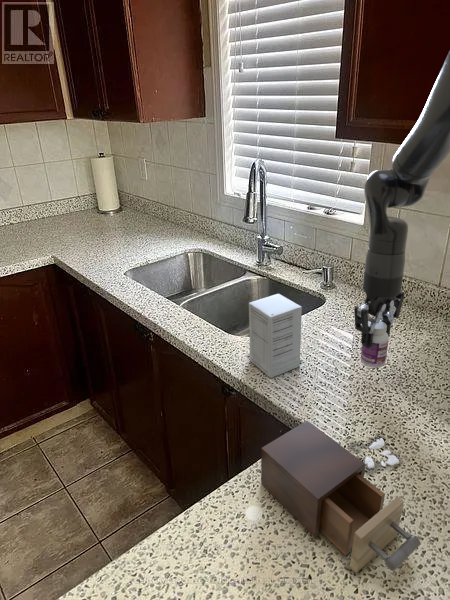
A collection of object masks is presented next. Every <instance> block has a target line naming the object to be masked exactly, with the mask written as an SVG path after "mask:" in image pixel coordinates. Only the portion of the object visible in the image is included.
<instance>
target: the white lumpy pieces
mask: <svg viewBox="0 0 450 600" xmlns="http://www.w3.org/2000/svg"><path fill="white" fill-rule="evenodd" d="M384 446H385V440H384V439H383V438H382V437H379V438H377V439H376V441H373V442H372V444H371V445H369V446H368V449H371V450H380V449H382V448H383V447H384ZM379 455H382V456H385V457H387V460H385V461H384V460H382V461H381V462H380V465H381V466H382V467H384V468H385V467H387V465H388V466H391V467H394V466H397V465H399V464H400V459H399V458H398V457H397V456H396V455H393V454H392V452H391V451H390V450H383V451H382V452H381V453H379ZM364 463H365V464H366V465H367V468H368V469H372V468H374V467H375V462H374V460H373V459H372V458H371V457H369V456H365V459H364Z"/></svg>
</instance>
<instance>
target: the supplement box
mask: <svg viewBox="0 0 450 600" xmlns="http://www.w3.org/2000/svg"><path fill="white" fill-rule="evenodd" d="M302 311H303V307H302V306H301V305H300V304H297V302H294V301H292V300H290V299H289V298H287V297H286V296H284V295H282V294H280V293H275V294H272V295H269V296H266V297H263V298H259V299H257V300H254V301H250V302H248V323H249V324H248V325H249V326H248V327H249V362H251V363H252V364H253V365H254V366H256V367H257V368H258V369H259V370H260V371H261V372H263V373H264V374H265V375H266V376H268V377H269V378H270V379H273V378H275V377H277V376H279V375H283V374H285V373H288V372H289V371H291V370H294V369H298V368H300V366H301V343H302V315H303V314H302V313H303V312H302Z"/></svg>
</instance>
